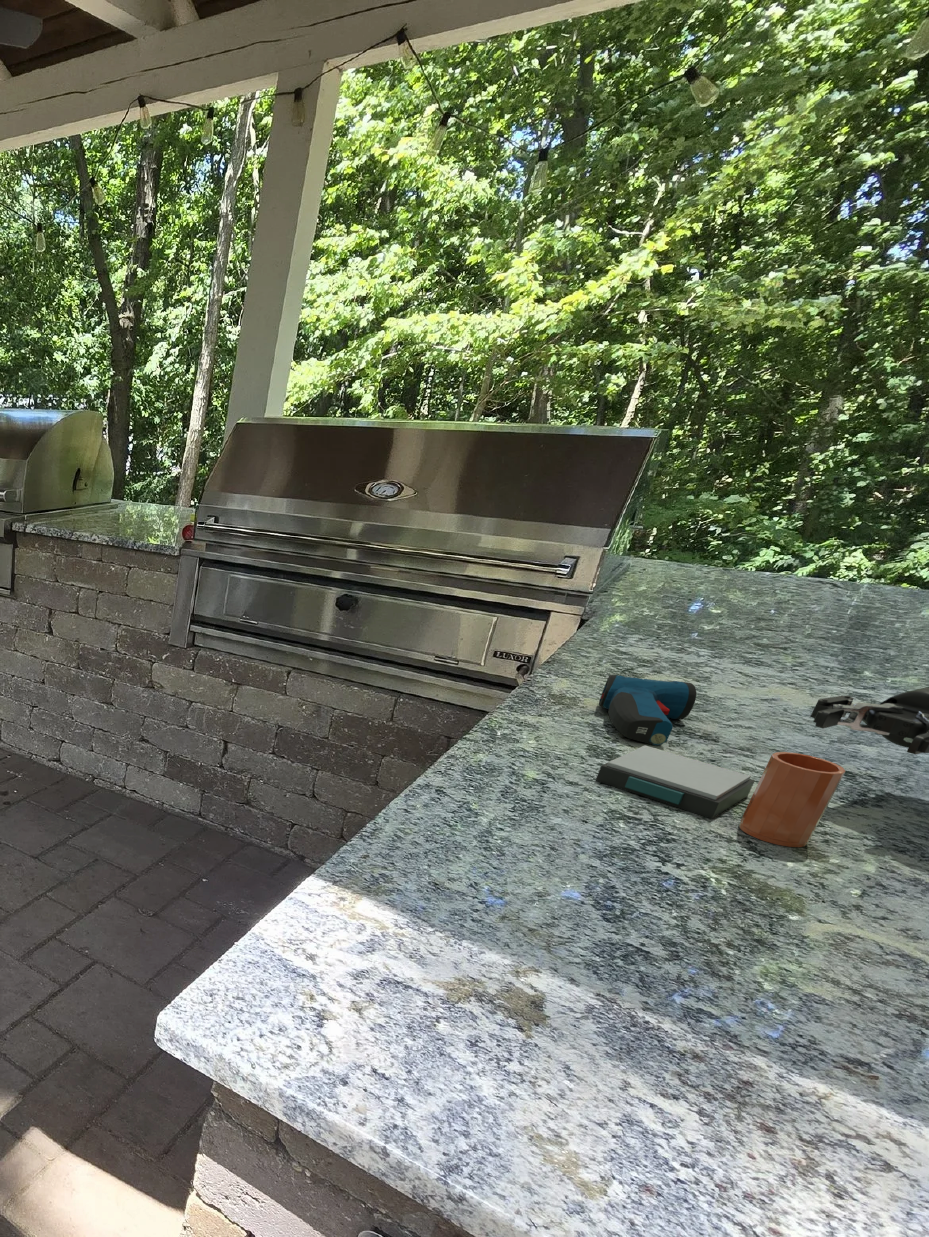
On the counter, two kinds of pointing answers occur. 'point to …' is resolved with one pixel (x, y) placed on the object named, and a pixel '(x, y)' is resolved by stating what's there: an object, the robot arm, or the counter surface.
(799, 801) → the cup
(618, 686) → the infrared thermometer
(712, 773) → the scale
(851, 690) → the counter surface
